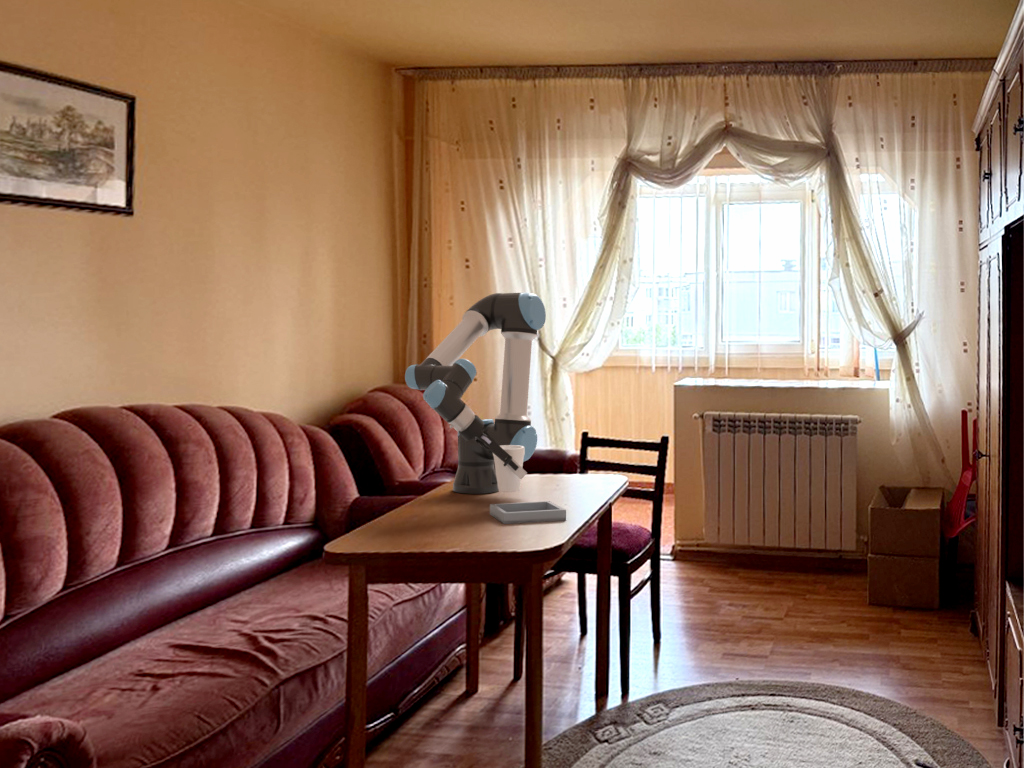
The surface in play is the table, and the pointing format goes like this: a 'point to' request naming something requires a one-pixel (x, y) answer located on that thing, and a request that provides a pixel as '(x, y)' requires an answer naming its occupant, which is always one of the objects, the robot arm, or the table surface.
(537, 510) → the tray
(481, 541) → the table surface
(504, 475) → the foam cup
